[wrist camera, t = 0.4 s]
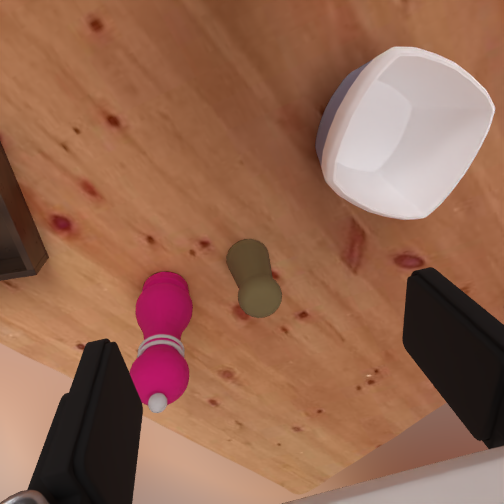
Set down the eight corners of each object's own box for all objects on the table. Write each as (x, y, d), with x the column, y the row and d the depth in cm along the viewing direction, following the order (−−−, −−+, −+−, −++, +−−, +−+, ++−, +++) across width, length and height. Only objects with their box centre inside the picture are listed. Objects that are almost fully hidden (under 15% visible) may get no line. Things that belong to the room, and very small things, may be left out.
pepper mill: (128, 294, 50) (99, 419, 33) (160, 258, 48) (148, 371, 31) (170, 318, 53) (164, 445, 36) (202, 286, 51) (212, 402, 34)
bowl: (380, 201, 50) (428, 236, 40) (282, 163, 45) (309, 191, 35) (446, 88, 44) (520, 97, 34) (341, 30, 39) (393, 21, 29)
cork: (229, 280, 52) (240, 330, 42) (223, 243, 49) (232, 288, 39) (270, 272, 52) (290, 320, 43) (266, 235, 49) (286, 277, 40)
